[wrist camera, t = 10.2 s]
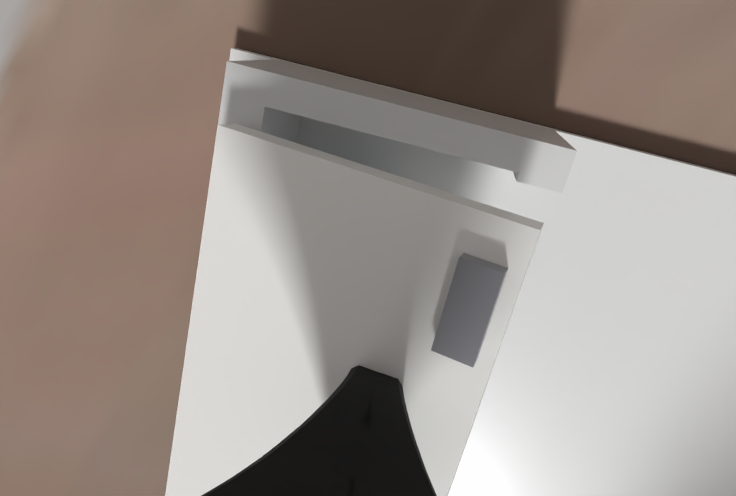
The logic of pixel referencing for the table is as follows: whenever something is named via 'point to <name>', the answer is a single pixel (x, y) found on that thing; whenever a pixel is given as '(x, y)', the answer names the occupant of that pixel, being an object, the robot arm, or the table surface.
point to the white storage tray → (558, 283)
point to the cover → (337, 303)
